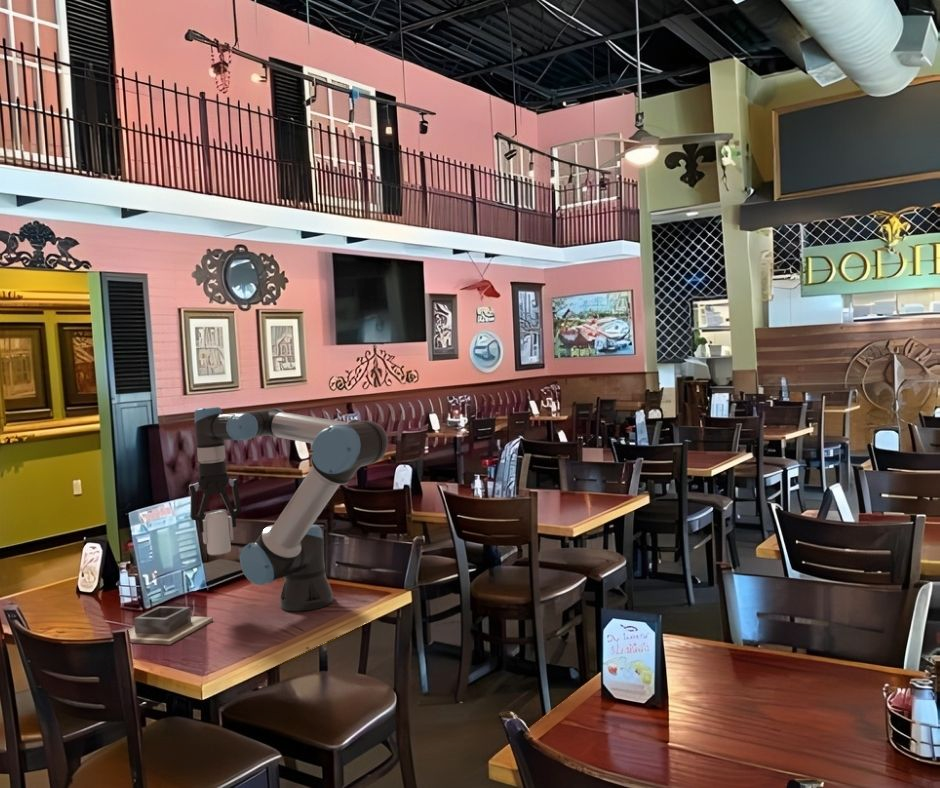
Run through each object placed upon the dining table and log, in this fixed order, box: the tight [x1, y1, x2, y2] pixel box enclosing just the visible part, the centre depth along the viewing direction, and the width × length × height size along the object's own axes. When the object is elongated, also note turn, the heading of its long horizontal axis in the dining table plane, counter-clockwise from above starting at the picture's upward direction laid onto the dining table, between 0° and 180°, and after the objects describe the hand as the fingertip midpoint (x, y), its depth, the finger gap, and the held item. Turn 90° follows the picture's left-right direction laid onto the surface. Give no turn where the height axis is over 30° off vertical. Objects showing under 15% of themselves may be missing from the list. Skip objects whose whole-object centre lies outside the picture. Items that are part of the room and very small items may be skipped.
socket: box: [127, 605, 214, 645], centre depth 207 cm, size 18×18×5 cm
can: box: [204, 509, 232, 556], centre depth 221 cm, size 6×6×12 cm
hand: (218, 540), depth 221 cm, fingers closed on can, 6 cm apart
